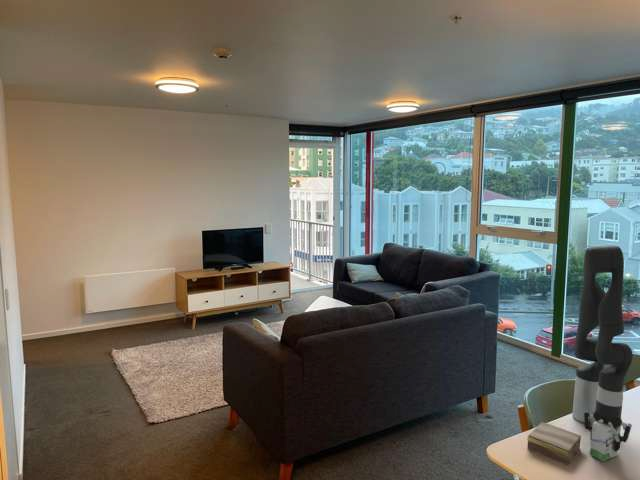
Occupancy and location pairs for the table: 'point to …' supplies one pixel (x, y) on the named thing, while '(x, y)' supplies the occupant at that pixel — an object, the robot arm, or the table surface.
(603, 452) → the ink box
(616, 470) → the table surface
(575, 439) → the walnut dock
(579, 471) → the table surface
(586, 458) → the table surface
